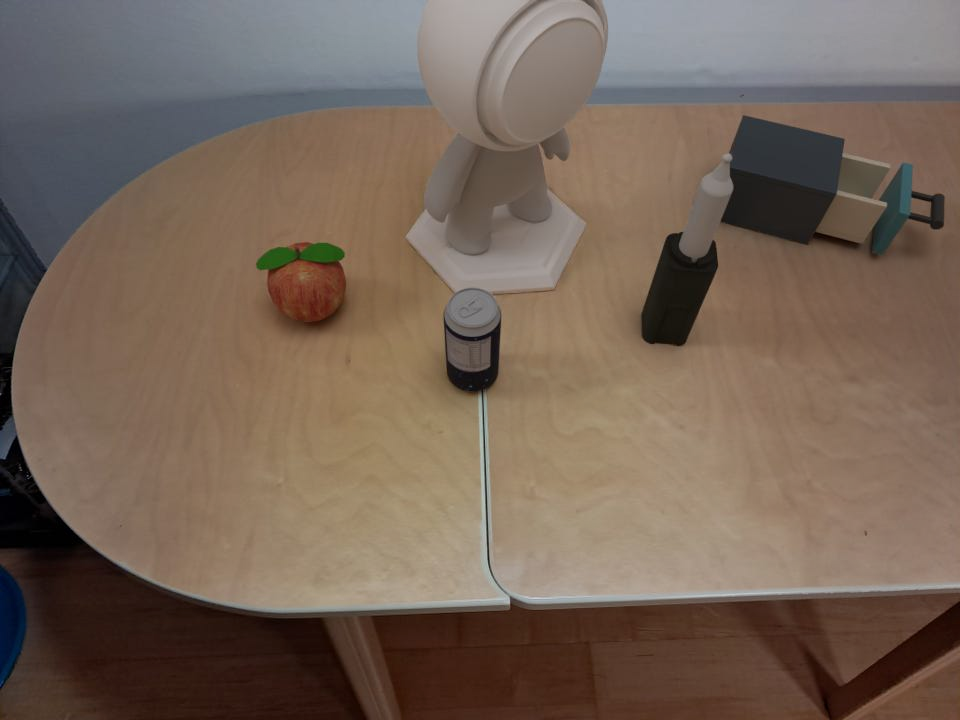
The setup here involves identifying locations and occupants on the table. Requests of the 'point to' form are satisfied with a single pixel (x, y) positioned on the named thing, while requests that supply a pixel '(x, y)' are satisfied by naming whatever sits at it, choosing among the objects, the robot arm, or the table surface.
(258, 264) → the fruit
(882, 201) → the drawer
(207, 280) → the table surface
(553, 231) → the white toy figurine
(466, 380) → the beverage can
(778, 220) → the dark grey drawer cabinet
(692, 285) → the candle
